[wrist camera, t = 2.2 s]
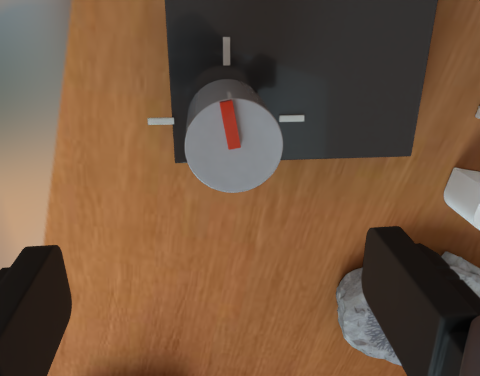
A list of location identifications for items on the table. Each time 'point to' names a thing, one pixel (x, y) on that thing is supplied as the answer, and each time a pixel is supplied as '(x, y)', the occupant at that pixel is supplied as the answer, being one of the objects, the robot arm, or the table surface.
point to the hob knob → (231, 137)
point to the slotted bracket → (465, 192)
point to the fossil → (363, 320)
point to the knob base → (308, 68)
